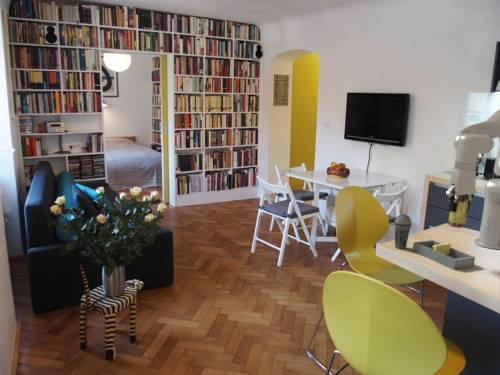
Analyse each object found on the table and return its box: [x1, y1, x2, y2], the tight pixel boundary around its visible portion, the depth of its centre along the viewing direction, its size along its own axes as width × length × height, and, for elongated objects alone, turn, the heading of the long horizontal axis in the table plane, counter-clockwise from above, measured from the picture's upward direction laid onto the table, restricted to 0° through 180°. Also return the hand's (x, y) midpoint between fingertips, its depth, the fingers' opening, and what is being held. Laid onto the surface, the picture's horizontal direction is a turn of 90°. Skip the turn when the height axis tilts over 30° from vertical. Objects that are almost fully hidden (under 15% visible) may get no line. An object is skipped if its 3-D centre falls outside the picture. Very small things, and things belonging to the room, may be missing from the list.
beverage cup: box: [394, 204, 413, 250], centre depth 183 cm, size 7×7×20 cm
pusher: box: [432, 242, 452, 255], centre depth 176 cm, size 8×5×5 cm, turn 113°
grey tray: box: [412, 239, 476, 271], centre depth 174 cm, size 11×22×4 cm, turn 23°
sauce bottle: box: [448, 193, 469, 229], centre depth 164 cm, size 7×6×20 cm
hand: (458, 210), depth 165 cm, fingers closed on sauce bottle, 6 cm apart
